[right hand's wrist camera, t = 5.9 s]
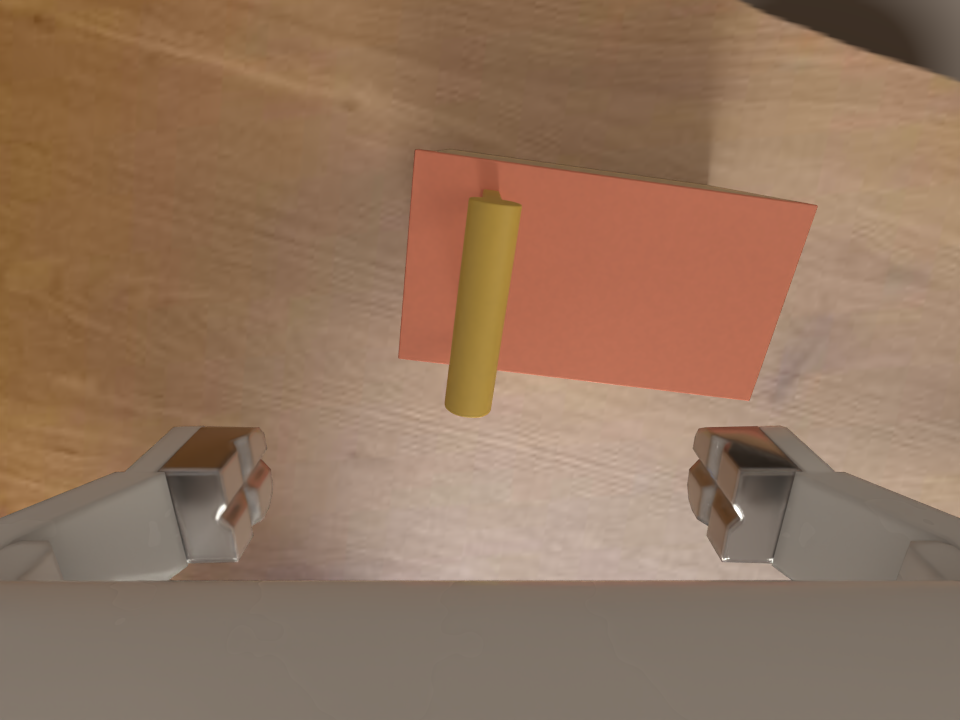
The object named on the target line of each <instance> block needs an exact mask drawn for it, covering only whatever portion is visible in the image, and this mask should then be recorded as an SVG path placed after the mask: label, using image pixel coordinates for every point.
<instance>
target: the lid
mask: <svg viewBox="0 0 960 720" xmlns="http://www.w3.org/2000/svg"><path fill="white" fill-rule="evenodd" d="M817 207H818V206H817V205H813V204H808V203H802V202H795V201H787V200H780V199H773V198H766V197H759V196H751V195H744V194H737V193H730V192H723V191H716V190H708V189H701V188H694V187H687V186H680V185H672V184H665V183H658V182H651V181H644V180H637V179H629V178H622V177H615V176H608V175H601V174H594V173H586V172H579V171H572V170H565V169H558V168H550V167H543V166H536V165H529V164H522V163H515V162H507V161H500V160H493V159H486V158H479V157H471V156H464V155H457V154H450V153H443V152H436V151H428V150H421V149H416V150H415V155H414V167H413V180H412V192H411V205H410V217H409V230H408V242H407V255H406V267H405V280H404V293H403V305H402V318H401V330H400V343H399V355H398V358H399V359H407V360H415V361H424V362H432V363H440V364H448V365H449V371H448V379H447V388H446V396H445V407H446V409H447V410H448V411H450V412H451V413H453V414H455V415H458V416H462V417H468V418H477V417H483V416H485V415H487V414H488V413H489V412H490V410H491V405H492V398H493V392H494V385H495V379H496V372H497V370H498V371H506V372H515V373H523V374H531V375H540V376H548V377H556V378H564V379H573V380H581V381H589V382H597V383H606V384H614V385H622V386H631V387H639V388H647V389H655V390H664V391H672V392H680V393H688V394H697V395H705V396H713V397H722V398H730V399H738V400H746V401H749V400H750V398H751V395H752V392H753V389H754V386H755V383H756V381H757V378H758V375H759V372H760V369H761V366H762V364H763V361H764V358H765V355H766V352H767V349H768V346H769V344H770V341H771V338H772V335H773V332H774V329H775V327H776V324H777V321H778V318H779V315H780V312H781V309H782V307H783V304H784V301H785V298H786V295H787V292H788V290H789V287H790V284H791V281H792V278H793V275H794V272H795V270H796V267H797V264H798V261H799V258H800V255H801V253H802V250H803V247H804V244H805V241H806V238H807V235H808V233H809V230H810V227H811V224H812V221H813V218H814V216H815V213H816V210H817Z"/></svg>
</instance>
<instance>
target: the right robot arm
mask: <svg viewBox="0 0 960 720" xmlns="http://www.w3.org/2000/svg"><path fill="white" fill-rule="evenodd" d="M266 450H267V445H266V440H265V435H264V432H263V431H262V430H261V429H260V428H259V427H213V426H207V427H205V426H180V427H173V428H172V429H171V430H170V431H169V432H168V433H167V434H166V435H165V436H164V437H162V438H161V439H160V440H159V441H158V442H157V443H156V444H155V445H154V446H153V447H151V448H150V449H149V450H148V451H147V452H146V453H145V454H144V455H143V456H142V457H140V458H139V459H138V460H137V461H136V462H135V463H134V464H133V465H132V466H131V467H129V468H128V469H127V470H126V471H125V472H114V473H112V474H109V475H107V476H104V477H102V478H99V479H97V480H94V481H92V482H89V483H87V484H84V485H82V486H79V487H77V488H74V489H72V490H69V491H67V492H64V493H62V494H59V495H57V496H54V497H52V498H49V499H47V500H44V501H42V502H39V503H37V504H34V505H32V506H29V507H27V508H24V509H22V510H19V511H17V512H14V513H12V514H9V515H7V516H4V517H2V518H0V720H960V518H958V517H955V516H953V515H950V514H948V513H945V512H943V511H940V510H938V509H935V508H933V507H930V506H928V505H925V504H923V503H920V502H918V501H915V500H913V499H910V498H908V497H905V496H903V495H900V494H898V493H895V492H893V491H891V490H888V489H886V488H883V487H881V486H878V485H876V484H873V483H871V482H868V481H866V480H863V479H861V478H858V477H856V476H853V475H851V474H848V473H846V472H835V471H834V470H833V469H832V468H831V467H830V466H828V465H827V464H826V463H825V462H824V461H823V460H822V459H821V458H820V457H819V456H817V455H816V454H815V453H814V452H813V451H812V450H811V449H810V448H809V447H808V446H806V445H805V444H804V443H803V442H802V441H801V440H800V439H799V438H798V437H797V436H796V435H794V434H793V433H792V432H791V431H790V430H789V429H788V428H786V427H783V426H761V427H758V426H746V427H705V428H700V429H698V431H697V433H696V436H695V439H694V445H693V450H694V451H695V453H696V455H697V456H698V458H699V460H698V461H697V462H696V463H695V464H694V465H693V466H692V467H691V468H690V469H689V475H688V483H687V488H688V499H689V502H690V506H691V509H692V511H693V513H694V515H695V516H696V518H697V519H698V520H699V521H701V522H703V523H704V524H706V525H707V526H708V530H707V537H708V539H709V541H710V542H711V544H712V546H713V547H714V549H715V551H716V553H717V554H718V556H719V558H720V559H721V561H722V562H742V563H772V566H773V567H775V568H776V569H777V570H779V571H780V572H781V573H783V574H784V575H785V576H787V577H788V578H789V579H791V580H624V581H168V580H169V579H171V578H172V577H173V576H175V575H176V574H177V573H179V572H180V571H182V570H183V569H184V568H186V567H187V566H188V563H217V562H238V561H239V559H240V558H241V556H242V554H243V553H244V551H245V549H246V548H247V546H248V544H249V542H250V541H251V539H252V537H253V530H252V526H253V525H254V524H256V523H257V522H259V521H261V520H262V519H263V518H264V516H265V515H266V513H267V511H268V509H269V506H270V501H271V497H272V474H271V469H270V468H269V467H268V466H267V465H266V464H265V463H264V462H263V461H262V460H261V458H262V456H263V455H264V453H265V451H266Z"/></svg>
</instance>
